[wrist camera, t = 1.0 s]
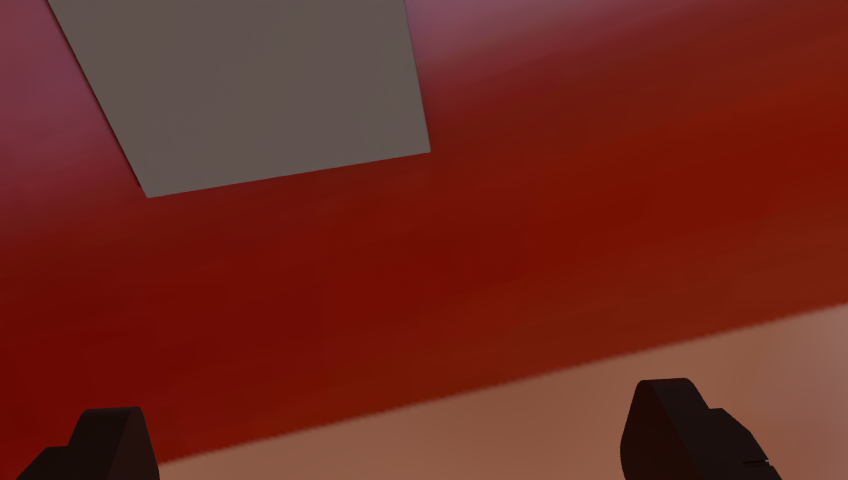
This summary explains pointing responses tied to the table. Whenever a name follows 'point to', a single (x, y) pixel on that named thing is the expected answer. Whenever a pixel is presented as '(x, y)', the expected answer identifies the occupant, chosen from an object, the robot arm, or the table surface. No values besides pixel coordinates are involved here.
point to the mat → (248, 85)
